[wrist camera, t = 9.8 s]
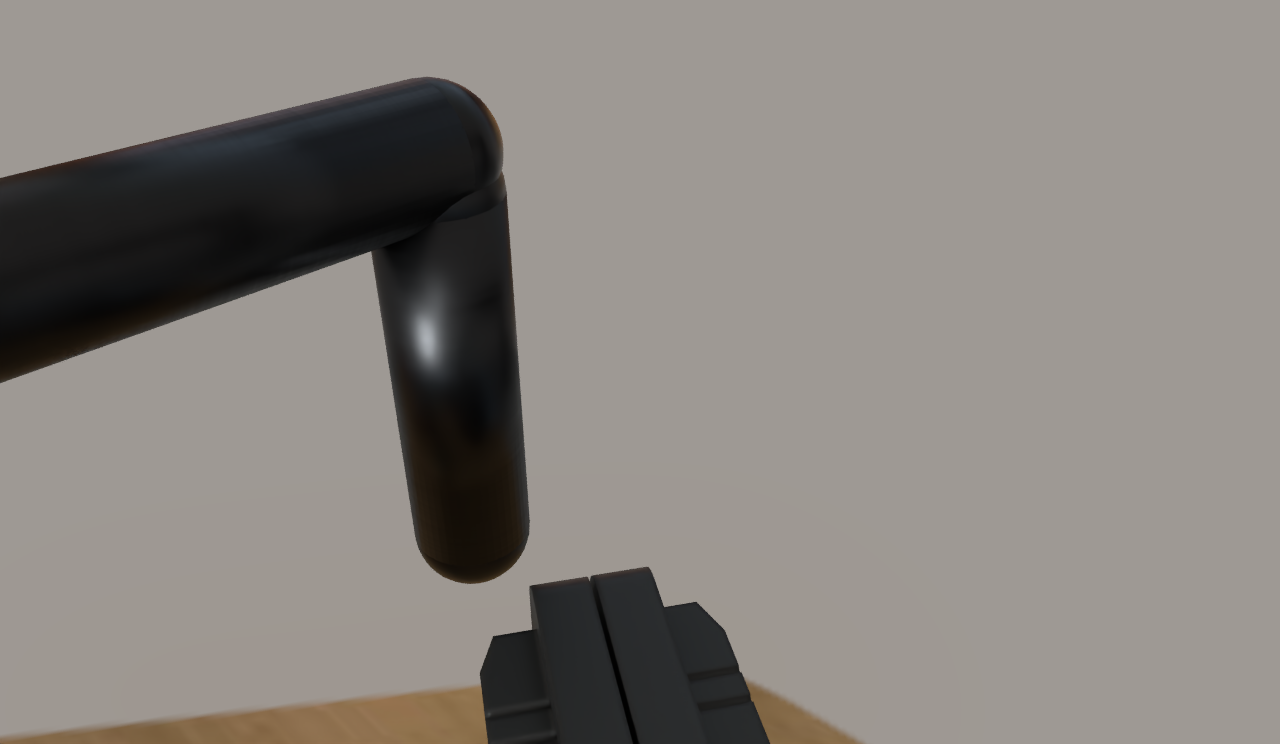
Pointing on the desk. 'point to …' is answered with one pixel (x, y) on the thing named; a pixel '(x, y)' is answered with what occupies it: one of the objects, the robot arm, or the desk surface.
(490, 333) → the spout
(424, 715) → the desk surface
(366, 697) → the desk surface
